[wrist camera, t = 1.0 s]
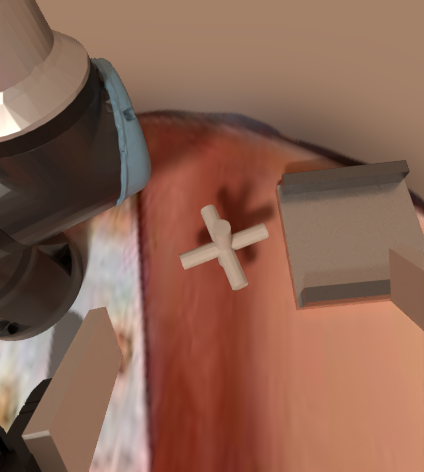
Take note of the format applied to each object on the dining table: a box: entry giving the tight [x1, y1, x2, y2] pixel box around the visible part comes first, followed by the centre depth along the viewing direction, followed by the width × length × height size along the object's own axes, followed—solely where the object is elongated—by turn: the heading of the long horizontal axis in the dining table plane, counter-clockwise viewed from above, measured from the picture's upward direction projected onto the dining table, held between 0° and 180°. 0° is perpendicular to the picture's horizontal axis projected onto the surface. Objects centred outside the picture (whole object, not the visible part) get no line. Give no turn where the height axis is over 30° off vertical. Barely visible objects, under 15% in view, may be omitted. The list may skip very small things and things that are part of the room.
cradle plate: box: [276, 160, 424, 310], centre depth 41 cm, size 16×16×4 cm
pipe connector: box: [179, 205, 268, 290], centre depth 39 cm, size 10×10×10 cm
